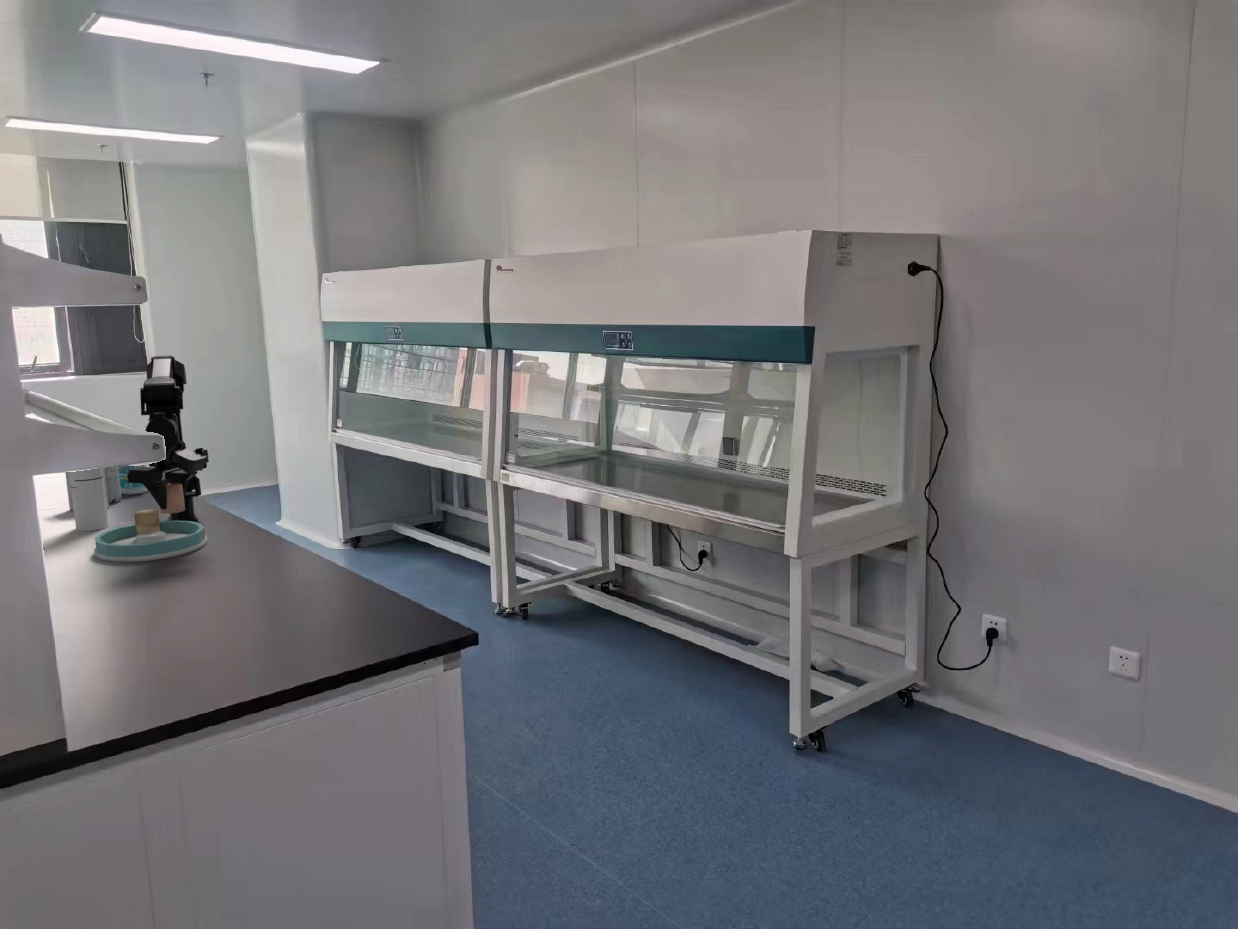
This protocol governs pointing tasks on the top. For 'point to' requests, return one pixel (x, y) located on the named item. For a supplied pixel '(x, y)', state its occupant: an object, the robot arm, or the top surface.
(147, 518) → the wood cylinder
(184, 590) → the top surface
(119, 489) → the bottle
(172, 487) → the pinkish brown short cylinder
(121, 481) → the pill bottle
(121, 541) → the groove tray
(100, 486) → the cylindrical container
